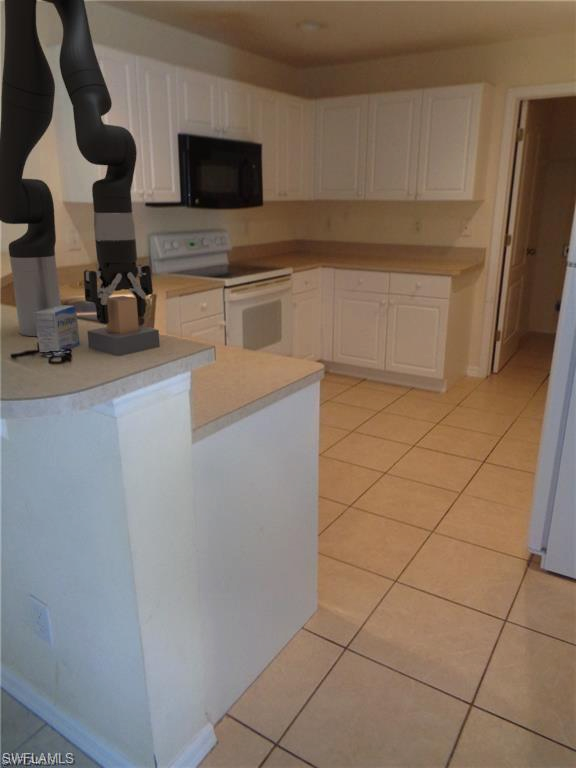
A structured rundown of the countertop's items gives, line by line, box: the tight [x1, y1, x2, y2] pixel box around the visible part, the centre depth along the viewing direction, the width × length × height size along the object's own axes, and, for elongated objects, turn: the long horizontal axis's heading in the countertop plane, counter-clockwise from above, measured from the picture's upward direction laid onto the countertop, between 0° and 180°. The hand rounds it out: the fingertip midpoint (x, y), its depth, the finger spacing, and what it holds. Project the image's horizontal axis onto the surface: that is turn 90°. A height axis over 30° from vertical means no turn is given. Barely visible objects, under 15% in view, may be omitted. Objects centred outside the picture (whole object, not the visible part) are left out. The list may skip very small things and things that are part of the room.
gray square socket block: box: [86, 324, 160, 357], centre depth 115 cm, size 10×10×4 cm
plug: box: [105, 295, 140, 334], centre depth 114 cm, size 4×4×10 cm
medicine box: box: [34, 304, 81, 353], centre depth 113 cm, size 8×4×9 cm, turn 170°
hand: (122, 319), depth 114 cm, fingers open, 8 cm apart
